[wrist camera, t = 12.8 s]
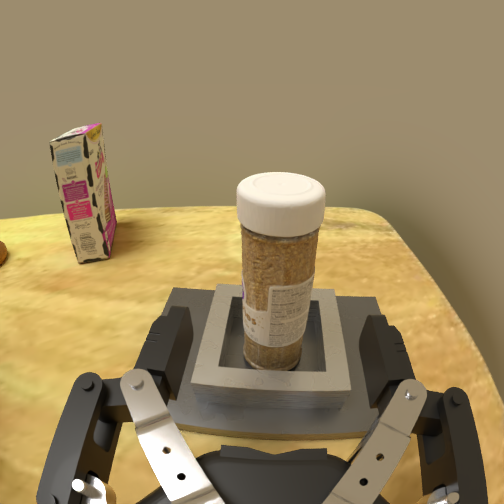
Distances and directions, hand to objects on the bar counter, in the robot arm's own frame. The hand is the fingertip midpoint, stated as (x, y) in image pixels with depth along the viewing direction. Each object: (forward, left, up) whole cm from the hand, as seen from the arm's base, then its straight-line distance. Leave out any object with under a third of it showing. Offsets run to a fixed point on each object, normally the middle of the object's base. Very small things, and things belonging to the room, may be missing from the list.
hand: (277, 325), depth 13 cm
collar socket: (0, +5, -10) cm, 11 cm away
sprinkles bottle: (0, +5, -9) cm, 10 cm away
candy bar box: (-25, +22, -10) cm, 35 cm away
